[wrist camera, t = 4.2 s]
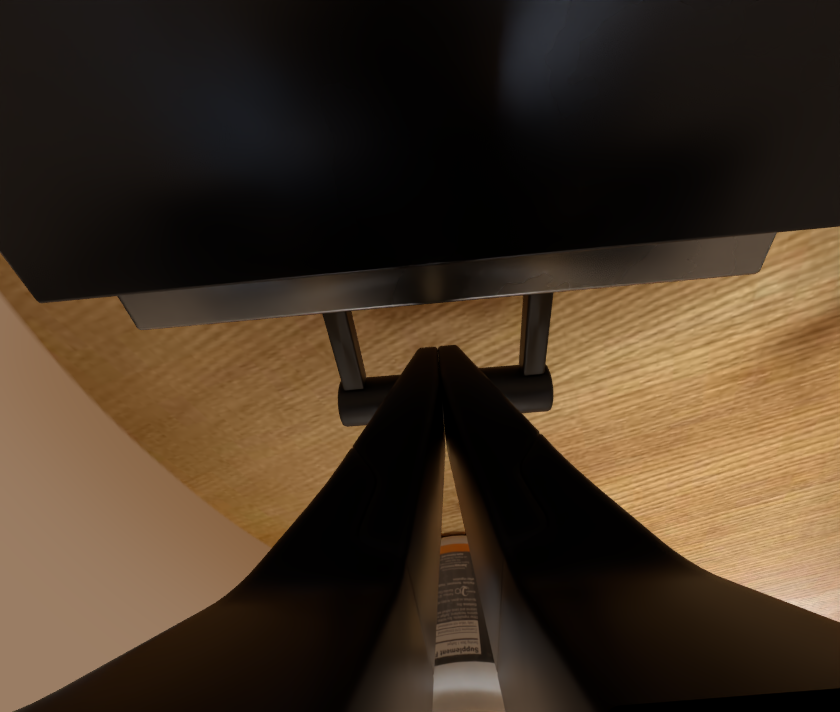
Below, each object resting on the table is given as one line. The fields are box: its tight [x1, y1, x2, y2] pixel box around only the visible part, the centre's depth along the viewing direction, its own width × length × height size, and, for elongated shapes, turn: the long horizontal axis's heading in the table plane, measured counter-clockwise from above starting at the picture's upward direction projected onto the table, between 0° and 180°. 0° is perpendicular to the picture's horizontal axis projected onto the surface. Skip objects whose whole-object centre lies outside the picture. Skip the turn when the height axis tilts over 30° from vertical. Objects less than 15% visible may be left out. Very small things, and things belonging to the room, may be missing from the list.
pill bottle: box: [432, 535, 505, 712], centre depth 23 cm, size 6×6×10 cm
